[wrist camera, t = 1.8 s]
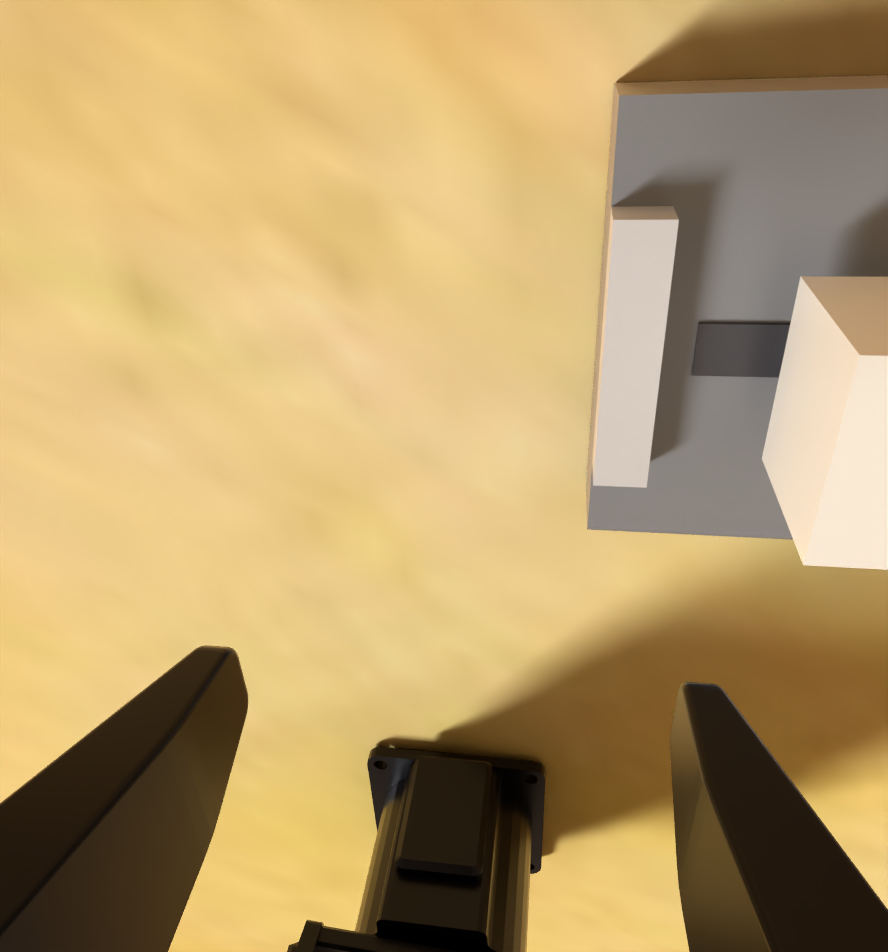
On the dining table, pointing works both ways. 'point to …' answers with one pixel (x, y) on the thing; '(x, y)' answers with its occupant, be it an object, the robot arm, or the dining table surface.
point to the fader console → (719, 283)
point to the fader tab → (834, 423)
